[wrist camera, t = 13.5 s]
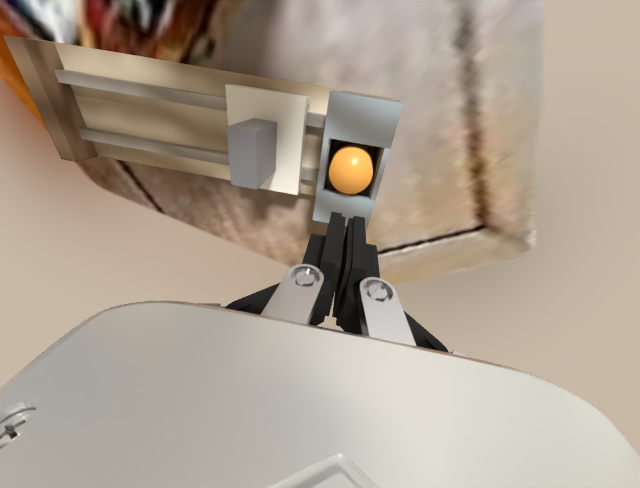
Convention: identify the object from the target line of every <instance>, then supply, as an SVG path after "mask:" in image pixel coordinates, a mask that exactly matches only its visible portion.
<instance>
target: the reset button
mask: <svg viewBox="0 0 640 488" xmlns="http://www.w3.org/2000/svg"><path fill="white" fill-rule="evenodd" d="M372 175H373V168H372V161H371V155H370V151H369V149H368V147H367V146H366V145H365V144H359V143H354V142H348V141H345V142H343V143H342V144H340V145H339V146H338V148H337V149H336V151H335V154H334V157H333V159H332V162H331V165H330V168H329V177H330V181H331V183H332V184H333V186H334V187H335V188H336V189H337V190H339V191H340V192H343V193H346V194H355V193H358V192H360V191H362V190H364V189H365V188H366V187H367V186H368V185H369V183H370V181H371V179H372Z"/></svg>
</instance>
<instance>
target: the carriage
mask: <svg viewBox="0 0 640 488" xmlns="http://www.w3.org/2000/svg"><path fill="white" fill-rule="evenodd" d="M225 89H226V102H227V115H228V126H226V128H227V140H228V152H229V165H230V177H231V185H235V186H240V187H245V188H251V189H256V190H257V189H258V188H261V189H267V190H272V191H278V192H283V193H288V194H294V195H298V194H299V192H300V190H301V188H302V183H301V176H302V165H303V154H304V143H305V133H306V122H307V111H308V104H310V97H308V96H302V95H296V94H290V93H284V92H278V91H272V90H266V89H260V88H254V87H248V86H242V85H236V84H225Z"/></svg>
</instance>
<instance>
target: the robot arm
mask: <svg viewBox="0 0 640 488" xmlns="http://www.w3.org/2000/svg"><path fill="white" fill-rule="evenodd" d="M345 220H346V217H343V216H342V213H337V212H332V211H331V216H330V221H329V225H328V230H327V235H326V236H323V235H317V234H311V236H310V240H309V243H308V246H307V249H306V252H305V256H304V259H303V262H302V264H298V265H295V266H293V267H291V268H290V269H289V271H288V272H287V273H286V275H285V276H284V278H283V280H282V281H281V283H278V284H276V285H273V286H271V287H268V288H266V289H263V290H261V291H259V292H256V293H254V294H251V295H249V296H246V297H244V298H241V299H239V300H236V301H234V302H232V303H231V304H229V305H227V306H226V307H221V306H220V304H195V303H188V302H177V301H146V302H136V303H129V304H124V305H119V306H116V307H111V308H109V309H106V310H104V311H101V312H99V313H97V314H96V315H93V316H91V317H90V318H88V319H87V320H85V321H84V322H82V323H81V324H79V325H78V326H76V327H75V328H73V329H72V330H71V331H69V332H68V333H67V334H65V335H64V336H63V337H61V338H60V339H59V340H57V341H56V342H55V343H54V344H52V345H51V346H50V347H48V348H47V349H46V350H45V351H44V352H42V353H41V354H40V355H39V356H37V357H36V358H35V359H34V360H33V361H31V362H30V363H29V364H28V365H27V366H26V367H24V368H23V369H22V370H21V371H20V372H19V373H17V374H16V375H15V376H14V377H13V378H11V379H10V380H9V381H8V382H7V383H6V384H4V385H3V386H2V387H1V388H0V488H640V453H639V452H638V451H637V450H636V448H635V447H634V446H633V445H632V444H631V443H630V441H629V440H628V439H627V438H626V437H625V436H624V435H623V433H622V432H621V431H620V430H619V429H618V428H617V427H616V426H615V425H614V424H613V423H612V422H611V421H610V420H609V419H608V418H607V417H606V416H605V415H604V414H603V413H601V412H600V411H599V410H598V409H597V408H596V407H594V406H593V405H591V404H590V403H588V402H587V401H585V400H583V399H582V398H580V397H579V396H577V395H575V394H574V393H572V392H570V391H568V390H566V389H564V388H562V387H560V386H558V385H556V384H554V383H552V382H550V381H548V380H545V379H543V378H540V377H538V376H535V375H533V374H530V373H527V372H524V371H520V370H518V369H514V368H511V367H507V366H503V365H499V364H495V363H491V362H487V361H483V360H479V359H474V358H472V357H469V356H467V355H464V354H461V353H459V352H456V351H454V350H453V351H452V352H451V353H450V352H448V350H447V348H446V347H445V346H444V345H443V344H442V343H441V342H440V341H439V340H437V339H436V338H435V337H434V336H433V335H432V334H430V333H429V332H428V331H427V330H426V329H424V328H423V327H422V326H421V325H420V324H419V323H417V322H416V321H415V320H414V319H413V318H412V317H410V316H409V315H408V314H407V313H406V312H405V311H404V310H403V308H402V306H401V303H400V300H399V297H398V295H397V292H396V290H395V288H394V287H393V286H392V285H391V284H390V283H389V282H387V281H386V280H383V279H381V278H380V274H379V264H378V255H377V247H376V245H371V244H366V231H365V218H364V217H359V216H353V218H349V220H348V224H347V228H346V232H345V237H344V231H345ZM334 293H335V297H334V307H333V315H332V317H336V318H337V320H336V325H337V326H340V327H341V328H342V329H343V330H344V331H345V332H344V331H339V330H334V329H329V328H323V327H319V326H317V325H319V324H320V323H322V322H324V318H325V316H329V313H330V309H331V305H332V301H333V296H334Z"/></svg>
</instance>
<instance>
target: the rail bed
mask: <svg viewBox="0 0 640 488" xmlns="http://www.w3.org/2000/svg"><path fill="white" fill-rule="evenodd" d="M3 37H4V39H5V41H6V43H7V45H8V47H9V49H10V51H11V54H12V56H13V58H14V60H15V62H16V64H17V66H18V68H19V70H20V73H21V75H22V77H23V79H24V81H25V83H26V85H27V87H28V89H29V91H30V94H31V96H32V98H33V100H34V102H35V104H36V106H37V108H38V110H39V113H40V115H41V117H42V119H43V121H44V123H45V125H46V127H47V129H48V132H49V134H50V136H51V138H52V140H53V142H54V144H55V146H56V148H57V150H58V153H59V155H60V157H61V159H64V160H69V161H75V162H78V161H81V160H85V159H89V158H92V157H96V156H101V157H106V158H112V159H117V160H123V161H128V162H133V163H139V164H144V165H150V166H155V167H161V168H166V169H171V170H177V171H182V172H188V173H193V174H199V175H204V176H209V177H215V178H220V179H226V180H231V177H230V165H229V152H228V140H227V128H226V126H228V115H227V102H226V89H225V84H236V85H242V86H248V87H254V88H260V89H266V90H272V91H278V92H284V93H290V94H296V95H302V96H308V97H310V104H308V111H307V122H306V133H305V143H304V154H303V165H302V176H301V183H302V188H301V190H300V192H299V193H302V194H307V195H313V196H316V197H315V205H314V212H313V220H315V221H320V222H325V223H329V221H330V216H331V211H332V212H337V213H342V216H343V217H346V220H345V226H346V227H347V224H348V220H349V218H353V216H359V217H364V218H365V230H367V227H368V224H369V221H370V217H371V214H372V210H373V207H374V203H375V200H376V196H377V193H378V190H379V186H380V183H381V179H382V176H383V172H384V169H385V165H386V162H387V159H388V155H389V152H390V148H391V145H392V141H393V138H394V134H395V131H396V128H397V124H398V121H399V117H400V114H401V110H402V107H403V103H402V102H399V101H397V100H395V99H392V98H387V97H381V96H375V95H369V94H363V93H357V92H351V91H345V90H339V89H333V88H327V87H321V86H315V85H309V84H303V83H297V82H291V81H285V80H279V79H273V78H267V77H261V76H255V75H249V74H243V73H237V72H231V71H225V70H219V69H213V68H207V67H201V66H195V65H189V64H183V63H177V62H171V61H165V60H159V59H153V58H147V57H141V56H135V55H129V54H123V53H117V52H111V51H105V50H99V49H93V48H87V47H81V46H75V45H69V44H63V43H57V42H50V41H43V40H36V39H29V38H21V37H14V36H7V35H3ZM345 141H348V142H354V143H359V144H365V145H366V146H367V147H368V149H369V151H370V155H371V161H372V168H373V175H372V179H371V181H370V183H369V185H368V186H367V187H366V188H365V189H364V190H362V191H360V192H358V193H355V194H346V193H343V192H340V191H339V190H337V189H336V188H335V187H334V186H333V184H332V183H331V181H330V177H329V168H330V165H331V162H332V159H333V157H334V154H335V151H336V149H337V148H338V146H339V145H340V144H342V143H343V142H345Z"/></svg>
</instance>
